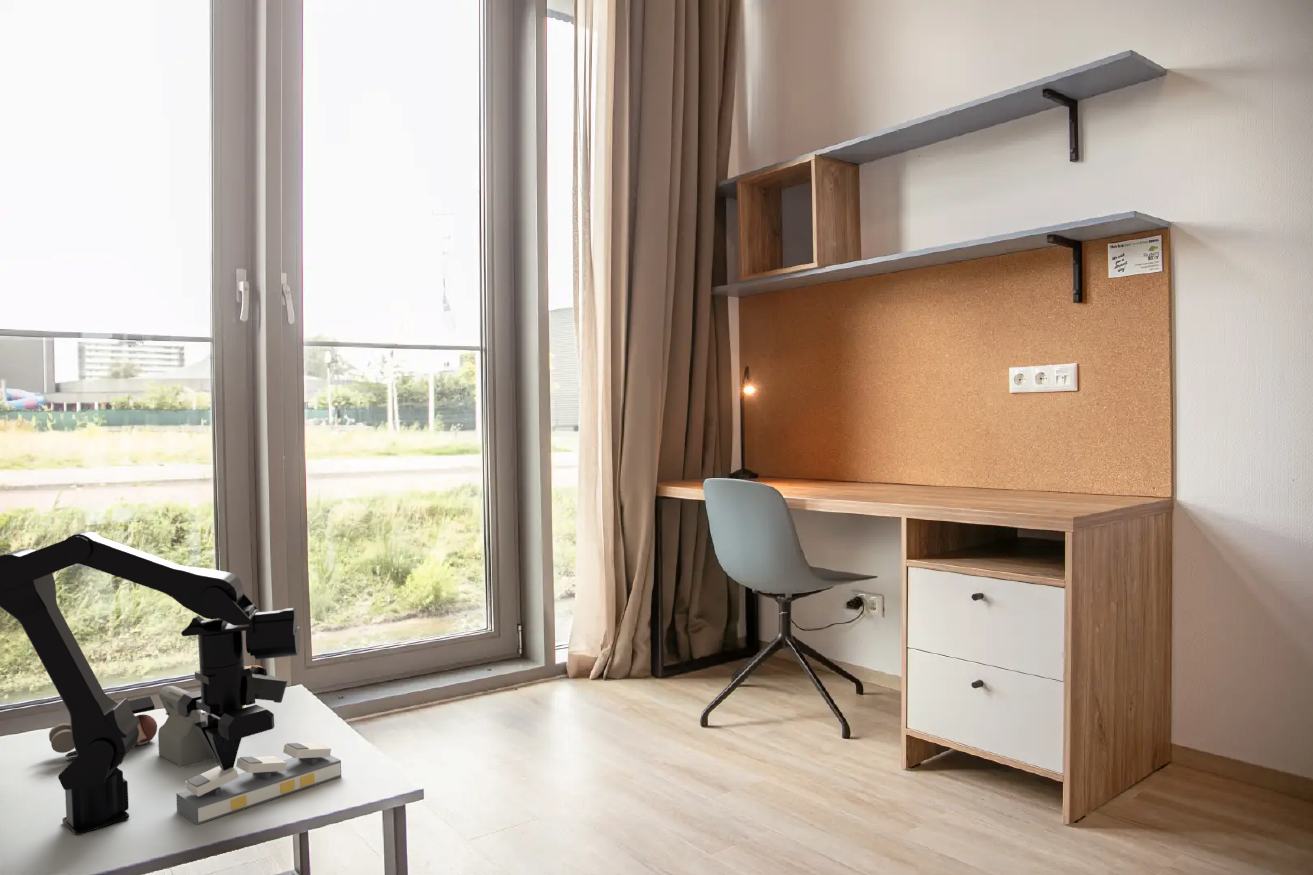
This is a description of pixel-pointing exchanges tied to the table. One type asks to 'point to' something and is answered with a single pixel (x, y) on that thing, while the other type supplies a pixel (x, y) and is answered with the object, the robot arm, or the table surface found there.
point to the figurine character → (147, 726)
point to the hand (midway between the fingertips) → (227, 771)
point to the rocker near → (210, 780)
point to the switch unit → (257, 788)
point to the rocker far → (306, 750)
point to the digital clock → (180, 732)
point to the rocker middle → (261, 764)
